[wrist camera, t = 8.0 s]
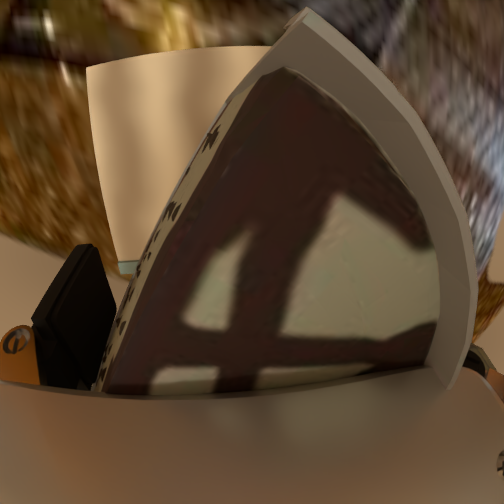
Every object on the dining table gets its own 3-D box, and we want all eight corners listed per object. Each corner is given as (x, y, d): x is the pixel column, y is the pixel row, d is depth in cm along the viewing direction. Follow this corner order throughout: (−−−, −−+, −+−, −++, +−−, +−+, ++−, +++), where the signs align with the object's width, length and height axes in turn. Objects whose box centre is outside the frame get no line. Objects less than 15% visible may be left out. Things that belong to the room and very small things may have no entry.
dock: (316, 54, 21) (334, 50, 17) (308, 238, 31) (320, 261, 27) (104, 68, 20) (84, 67, 16) (131, 250, 29) (121, 274, 25)
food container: (226, 341, 16) (231, 519, 8) (122, 298, 14) (67, 485, 6) (374, 152, 11) (569, 309, 3) (249, 64, 9) (359, -46, 1)
